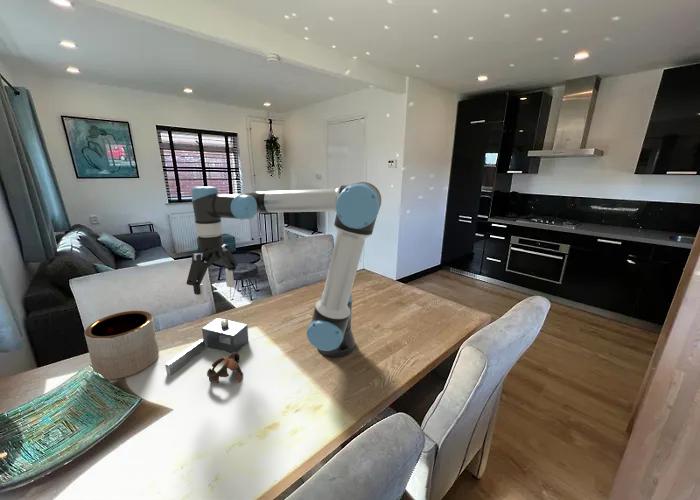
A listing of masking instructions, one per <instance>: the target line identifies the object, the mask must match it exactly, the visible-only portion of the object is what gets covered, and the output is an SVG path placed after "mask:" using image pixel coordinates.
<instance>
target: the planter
mask: <svg viewBox="0 0 700 500" xmlns="http://www.w3.org/2000/svg"><path fill="white" fill-rule="evenodd" d="M155 330H156V329H155V324H154V320H153V315H152V314H151V313H150V312H148V311H145V310H129V311H122V312H117V313H114V314H109V315H107V316H105V317H102V318H99V319H97V320H96V321H93V322H92V323H91V324H90V325H89V326H87V327H86V328H85V330H84V337H85V340H86V344H87V345H86V346H87V349H88V353H89V357H90V358H89V359H90V363H91V366H92V370H94V371H95V372H97V373H99V374H101V375H102V376H103V377H104V378H106V379H105V380H118V379H123V378H126V377H130V376H132V375H135V374H137V373H139V372H141V371H144V370H145V369H147V368H148V367H149V366H151V364H153V363H154V362H155V361H156V360H157V358H158V356H159V355H160V354H159V353H160V351H159V345H158V340H157V336H156V335H157V334H156V331H155ZM94 371H93V372H94Z"/></svg>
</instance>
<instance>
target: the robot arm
mask: <svg viewBox="0 0 700 500" xmlns="http://www.w3.org/2000/svg"><path fill="white" fill-rule="evenodd" d="M191 203H192V208H193V213H194V221H195V230H196V232H195V233H196V235H197V237H196V240H197V246H198V248H199V249H200V252H199V253H192V254H191V263H190V268H189V270H188V271H189V272H188V275H187V278H186V279H187V280H186V285H188V286H192V287H193V293H194V295H195V296H196V303H199V304H202V305H203V304H206V299H205V298H206V297H205V289H204V284H203V283H202V282H203V280H204V277H205V275H206V274H207V271H208V268H209V267H210V266H211V264H214V263H215V262H219V263H221V264H222V265H223V266H224V268H225V270H224V273H225V281H226V288H227V287H228V288H235V282H234V281H235V280H234V277H235V272H234V271H236V269H237V267H238V262H237V261H236V258H235V257H234V255H233V254H232V252H231V249H230V248H231V247H230V245H229V244H225V243H224V238H223V237H224V236H223V234H222V233H223V226H222V218H223V219H236V220H242V221H243V220H252V219H254V218H255V216H256V215H257V214H261V213H262V214H263V213H264V214H265V213H302V212H304V213H306V212H309V213H310V212H311V213H314V212H315V213H316V212H317V213H318V212H321V213H322V212H336V215H335V219H334V224H333V226H334V227H335V229H336V232H337V233H336V237H335V242H334V244H333V245H334V246H333V250H332V254H331V258H330V263H329V267H328V271H327V275H326V280H325V283H324V284H325V285H324V289H323V292H322V293H321V297H320V299H319V300H318V301H316V303H315V306H314V310H313V314H312V319H311V322H310V323H309V324H308V326H307V329H306V330H307V331H306V336H307V337H306V338H307V341H308V342H309V343H310V344H311V345H312V346H313V347H314V348H316V349H317V352H319V353H320V354H322V355H324V356H326V357H328V358H329V357H330V358H342V357H346V356H348V355H349V354H351V353H352V352H353V351H354V348H355V337H354V334H353V333H354V332H353V331H352V315H353V312H352V309H353V295H352V289H353V285H354V282H355V278H356V274H357V271H358V267H359V264H360V260H361V256H362V253H363V250H364V249H363V248H364V245H365V241H366V239H367V238H368V237H371V236H372V235H373V231H374V229H375V224H376V221H377V217H378V215H379V212H380V209H381V206H382V195H381V193H380V190H379V189H378V188H377V187H376V186H375V185H374V184H372V183H370V182H365V181H362V182H361V181H360V182H356V183H352V184H351V183H350V184H345V185H339V187H337V188H322V189H321V188H318V189H316V188H314V189H293V190H292V189H291V190H289V189H288V190H287V189H285V190H253V191H248V192H241V193H232V194H231V193H230V194H229V193H227V194H226V193H219V190H218V187H217V186H210V185H209V186H208V185H207V186H193V187H192V189H191Z"/></svg>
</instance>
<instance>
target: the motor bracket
mask: <svg viewBox="0 0 700 500" xmlns="http://www.w3.org/2000/svg"><path fill="white" fill-rule="evenodd" d="M248 327H249V326H248V323H243V322H239V321H238V322H237V321H233V320H229V319H224V318H219V317H216V318H215V319H213V320H212V321H211V322H209V323H208V324H206V325H204V326H203V327H202V328H201V331H202V338H200V339H199V340H198V341H196V342H195V343H193V344H192V345H190V346H189V347H188V348H186V349H185V350H183V351H182V352H180V353H179V354H177V355H176V356H175V357H173V358H172V359H170V360H169V361H168V362H166V363H165V371H166V375H168V376H172V375H173V374H174V373H176V372H177V371H179V370H180V369H181V368H183V367H184V366H185V365H187V364H188V363H189V362H190V361H191V360H193V359H194V358H196V357H197V356H199V355H200V354H201V353H203V352H204V351H205V350H206V348H208V349H213V350H215V351H216V350H217V351H219V352H220V351H221V352H223V353H227V354H231V353H233V352H237V353H238V352H240V350H242V349H243V348H244V347H245V346H246V345H247V344H248V343H249V342H250V341H249V329H248Z"/></svg>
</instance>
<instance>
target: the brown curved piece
mask: <svg viewBox="0 0 700 500" xmlns="http://www.w3.org/2000/svg"><path fill="white" fill-rule="evenodd" d="M240 357H241V356H240V354H239V353H238V352H233V353H229V355H228V357H226V356H222V357H219V358H217V359H216V360H215V361H214V362H213V363H211V367H212V368H208V370H207V373H206V376H207V377H208V381H209V382H210V383H217V384H220V378H228V377H229V376H230V375H229V372H228V370H230V371H232V372H235V371H236V372H237V375H236V376H235V380H236V381H237V383H238V384H239V383H240V382H241V381H242V379H243V377H244V374H243V371H242V368H241V367H240V365H239V363H240V360H241V359H240ZM222 362H224V363H223V365H222V367H220V369H219V370H218V371H217V372H216V370H215V369H216V368H217V366H219V365H220V364H221V363H222Z"/></svg>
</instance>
